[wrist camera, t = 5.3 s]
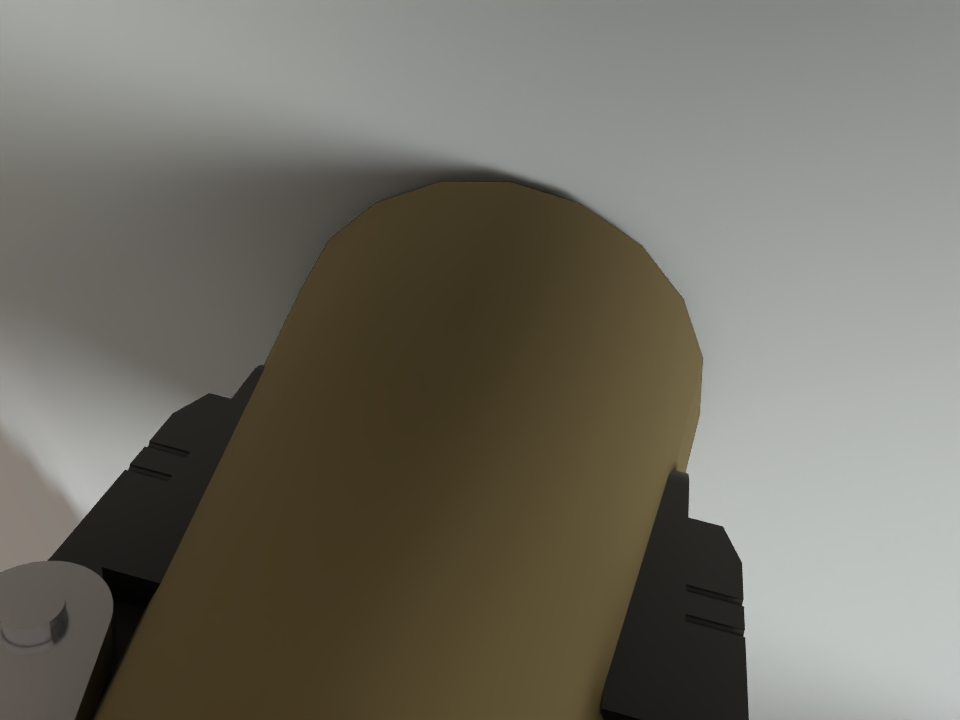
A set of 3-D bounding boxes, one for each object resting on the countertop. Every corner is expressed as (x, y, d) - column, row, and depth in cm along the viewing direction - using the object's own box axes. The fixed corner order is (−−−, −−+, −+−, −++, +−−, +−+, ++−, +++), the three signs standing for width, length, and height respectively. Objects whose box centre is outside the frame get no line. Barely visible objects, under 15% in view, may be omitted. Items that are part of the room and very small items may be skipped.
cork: (361, 539, 16) (-125, 1600, 6) (235, 213, 13) (-973, 1312, 4) (724, 527, 14) (759, 1971, 5) (675, 145, 11) (510, 2007, 2)
